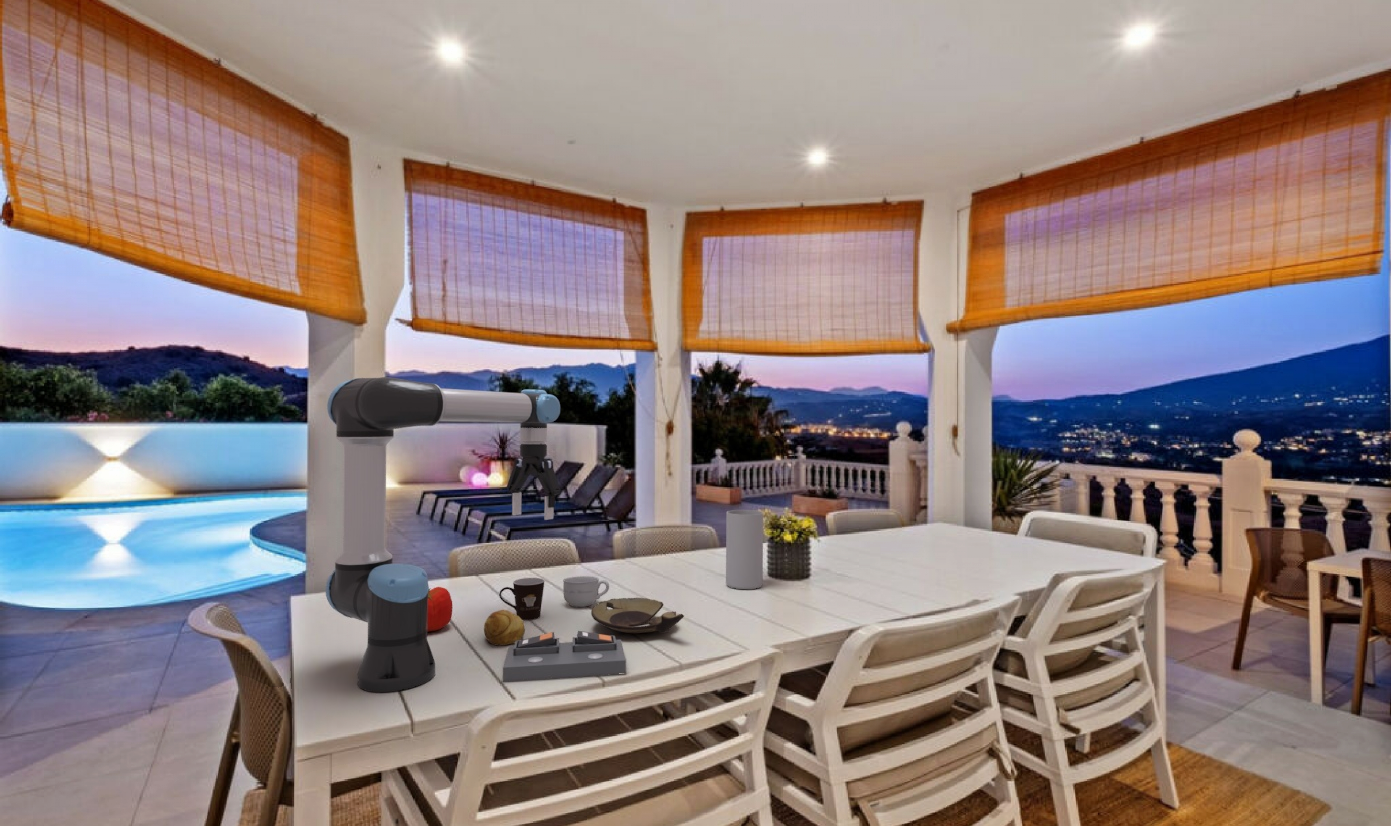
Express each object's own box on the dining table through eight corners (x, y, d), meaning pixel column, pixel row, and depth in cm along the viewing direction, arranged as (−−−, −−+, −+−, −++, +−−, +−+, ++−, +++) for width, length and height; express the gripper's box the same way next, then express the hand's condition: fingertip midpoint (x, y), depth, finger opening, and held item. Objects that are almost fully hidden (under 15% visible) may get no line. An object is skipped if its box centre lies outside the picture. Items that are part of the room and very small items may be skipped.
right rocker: (577, 641, 149) (578, 636, 149) (577, 635, 153) (578, 630, 154) (611, 647, 151) (612, 641, 151) (610, 641, 155) (611, 635, 155)
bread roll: (480, 634, 169) (480, 603, 170) (518, 629, 174) (518, 599, 174) (487, 650, 158) (487, 617, 158) (527, 644, 162) (528, 612, 162)
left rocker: (518, 652, 147) (517, 646, 147) (520, 645, 151) (519, 640, 151) (554, 643, 148) (553, 637, 148) (554, 636, 153) (553, 631, 152)
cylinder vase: (769, 587, 221) (770, 513, 221) (739, 592, 214) (739, 515, 215) (748, 579, 231) (749, 509, 232) (718, 583, 225) (719, 511, 226)
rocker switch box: (502, 681, 138) (503, 660, 139) (508, 658, 152) (509, 639, 152) (625, 674, 143) (625, 653, 143) (620, 652, 157) (620, 633, 157)
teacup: (556, 607, 194) (556, 580, 194) (573, 598, 205) (573, 572, 205) (599, 612, 190) (599, 584, 190) (614, 602, 201) (614, 576, 201)
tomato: (451, 619, 182) (451, 582, 182) (453, 634, 169) (453, 593, 169) (397, 625, 176) (398, 586, 176) (395, 640, 164) (396, 598, 164)
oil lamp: (654, 611, 192) (655, 585, 192) (698, 642, 165) (699, 612, 165) (580, 620, 182) (580, 593, 182) (614, 655, 155) (614, 623, 155)
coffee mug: (548, 613, 189) (548, 578, 189) (538, 621, 180) (538, 585, 180) (509, 611, 190) (509, 577, 190) (497, 620, 181) (497, 584, 182)
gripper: (573, 444, 184) (572, 519, 184) (515, 442, 198) (514, 511, 198) (554, 444, 178) (553, 522, 178) (494, 442, 192) (493, 514, 192)
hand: (532, 517), depth 188 cm, fingers open, 13 cm apart
